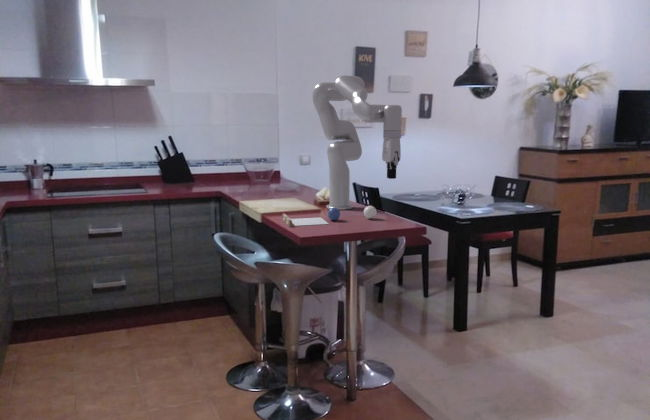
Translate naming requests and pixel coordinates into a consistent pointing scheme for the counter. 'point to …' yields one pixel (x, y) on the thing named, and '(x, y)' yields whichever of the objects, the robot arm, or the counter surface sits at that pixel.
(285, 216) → the stopper rail
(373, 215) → the cue ball
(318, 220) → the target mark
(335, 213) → the navy ball
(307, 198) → the counter surface
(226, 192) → the counter surface
